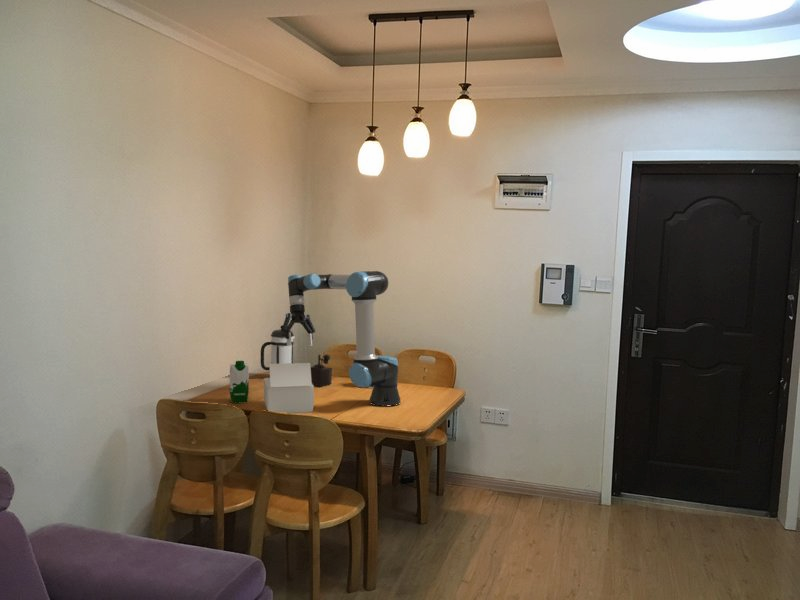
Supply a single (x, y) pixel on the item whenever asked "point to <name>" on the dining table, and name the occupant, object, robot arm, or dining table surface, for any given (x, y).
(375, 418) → the dining table surface
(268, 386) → the carton
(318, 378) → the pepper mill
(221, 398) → the dining table surface
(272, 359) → the coffee press
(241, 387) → the milk carton
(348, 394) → the dining table surface
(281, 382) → the carton flap
